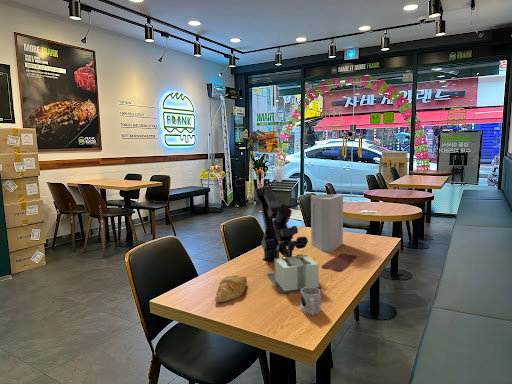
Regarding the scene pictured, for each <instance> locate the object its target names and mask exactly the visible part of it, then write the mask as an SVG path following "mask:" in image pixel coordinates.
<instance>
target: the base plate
mask: <svg viewBox="0 0 512 384" xmlns="http://www.w3.org/2000/svg"><path fill="white" fill-rule="evenodd" d="M296 256H297V258H299V259H300V260H301V258H303V254H297V255H296ZM281 258H282V259H283V260H284V261H285V262H286V259H288V256H283V255H282V256H281ZM286 263H287V262H286ZM266 276H267V277H268V279H269V280H270V281H271V283H273V285H274V286H275V287H276V289H277V290H278V292H279V293H280V294H281V295H283V294H289V293H290V294H292V293H297V292H300V293H301V289H298V290H290V291H283V289H282V288H281V287H280V286H279V284H278V283H277V282H276V281H275V272H271V273H266ZM315 288H318V289H319V290H322V288H321V286H320V285H319V287H315Z"/></svg>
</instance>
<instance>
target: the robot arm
mask: <svg viewBox="0 0 512 384" xmlns="http://www.w3.org/2000/svg"><path fill="white" fill-rule="evenodd" d="M253 196H254V198H255V202H257V204H258V205H259V206H260V210H261V215H262V220H263V224H264V233H263V237H262V241H261V248H262V250H263V251H264V253H263V254H264V255H263V256H264V258H262V260H263V261H266V262H272V263H274V258H281V257H280V254H281V255H282V256H288V257H293V251H294V250H295V248H297V249H298V250H299V249H304V248H306V247H307V244H308V243H309V240H308V237H307V236H298V237H297V238H296V240H292V239H293V238H294V236H295V235H297V234H298V233H299V230H298V227H297V225H292V226H291V227H288V224H287V223H288V222H289V220H290V218H291V215H292V213H293V212H292V209H291V208H290V207H288V206H286V204H283V203H281V202H279V201H278V200H277V197H276V196H275V193H274V191H273V187H272V186H270V185H268V186H267V185H266V186H261V187H259V188H256V189H255V190H254V191H253Z"/></svg>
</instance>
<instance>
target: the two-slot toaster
mask: <svg viewBox="0 0 512 384" xmlns="http://www.w3.org/2000/svg"><path fill="white" fill-rule="evenodd" d="M302 255H303V254H302ZM286 262H287V263H286ZM286 262H285V261H284V260H283V259H282V257H280V258H274V262H273V264H274V273H275V281H276V282H277V283H278V284H279V286H280V287H281V288H282V289H283V291H290V290H298V289H302V288H305V287H319V286H320V284H319V283H320V282H319V281H320V280H319V277H320V275H319V263H318V262H316V260H314V259H313V258H311V257H310V256H309V255H307V254H304V255H303V258H301V260H300V259H299V258H297V255H294V256H293V255H292V257H288V259H286Z"/></svg>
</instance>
